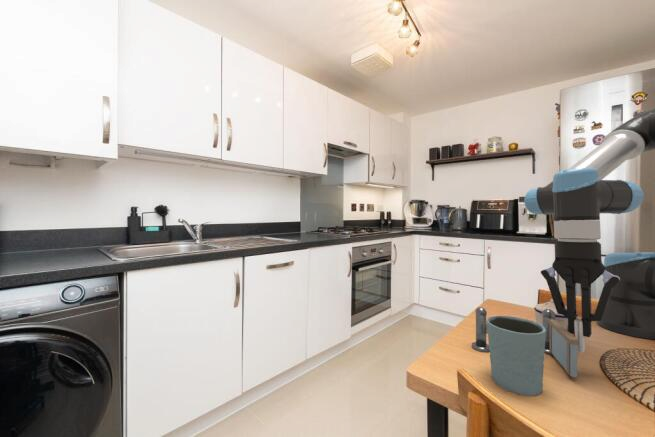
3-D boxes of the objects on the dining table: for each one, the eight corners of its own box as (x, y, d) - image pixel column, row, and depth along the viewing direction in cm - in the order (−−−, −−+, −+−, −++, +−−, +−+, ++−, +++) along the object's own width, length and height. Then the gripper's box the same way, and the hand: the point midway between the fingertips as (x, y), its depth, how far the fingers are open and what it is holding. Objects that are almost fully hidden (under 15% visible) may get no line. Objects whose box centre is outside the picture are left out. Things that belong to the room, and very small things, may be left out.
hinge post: (552, 347, 72) (551, 306, 72) (564, 355, 68) (564, 312, 68) (533, 346, 73) (533, 306, 73) (545, 354, 68) (545, 311, 68)
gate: (548, 349, 69) (548, 319, 69) (555, 350, 68) (555, 319, 68) (570, 376, 57) (570, 339, 57) (578, 377, 56) (578, 340, 57)
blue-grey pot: (519, 402, 51) (519, 336, 51) (475, 372, 60) (475, 317, 60) (559, 392, 53) (559, 329, 53) (511, 365, 63) (511, 312, 63)
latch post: (489, 344, 74) (489, 304, 74) (497, 352, 69) (497, 310, 69) (468, 343, 74) (468, 304, 74) (475, 351, 70) (475, 309, 70)
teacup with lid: (571, 354, 68) (571, 306, 68) (528, 340, 76) (528, 298, 76) (586, 342, 75) (586, 298, 75) (545, 330, 83) (545, 291, 83)
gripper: (620, 240, 58) (625, 355, 57) (544, 238, 68) (547, 336, 67) (617, 242, 53) (621, 367, 53) (536, 240, 63) (539, 345, 62)
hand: (580, 350), depth 60 cm, fingers closed
